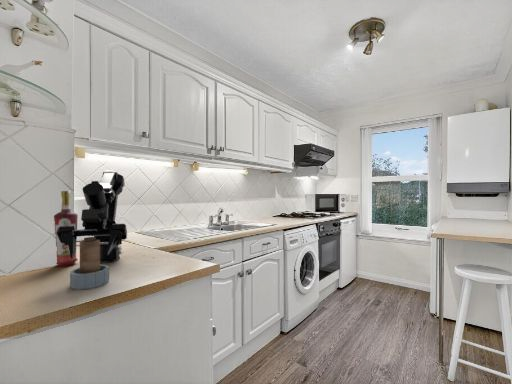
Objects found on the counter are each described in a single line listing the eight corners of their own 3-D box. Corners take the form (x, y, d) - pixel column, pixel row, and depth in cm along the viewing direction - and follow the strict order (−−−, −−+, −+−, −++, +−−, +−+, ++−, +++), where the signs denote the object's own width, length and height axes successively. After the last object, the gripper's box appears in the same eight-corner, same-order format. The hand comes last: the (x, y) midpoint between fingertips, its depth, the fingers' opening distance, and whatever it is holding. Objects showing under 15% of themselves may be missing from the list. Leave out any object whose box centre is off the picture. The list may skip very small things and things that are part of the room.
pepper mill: (76, 282, 78) (75, 238, 78) (93, 277, 83) (92, 235, 83) (87, 284, 76) (86, 239, 76) (104, 279, 81) (103, 237, 81)
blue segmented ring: (62, 290, 74) (62, 275, 74) (83, 278, 84) (83, 265, 84) (98, 289, 75) (97, 274, 75) (114, 277, 85) (114, 264, 85)
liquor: (79, 261, 105) (78, 190, 105) (76, 265, 99) (75, 190, 99) (57, 263, 102) (55, 191, 102) (52, 268, 96) (51, 191, 95)
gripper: (58, 200, 81) (43, 243, 71) (125, 199, 87) (121, 238, 77) (67, 222, 88) (55, 264, 78) (128, 220, 95) (125, 258, 84)
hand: (89, 255), depth 79 cm, fingers open, 9 cm apart
